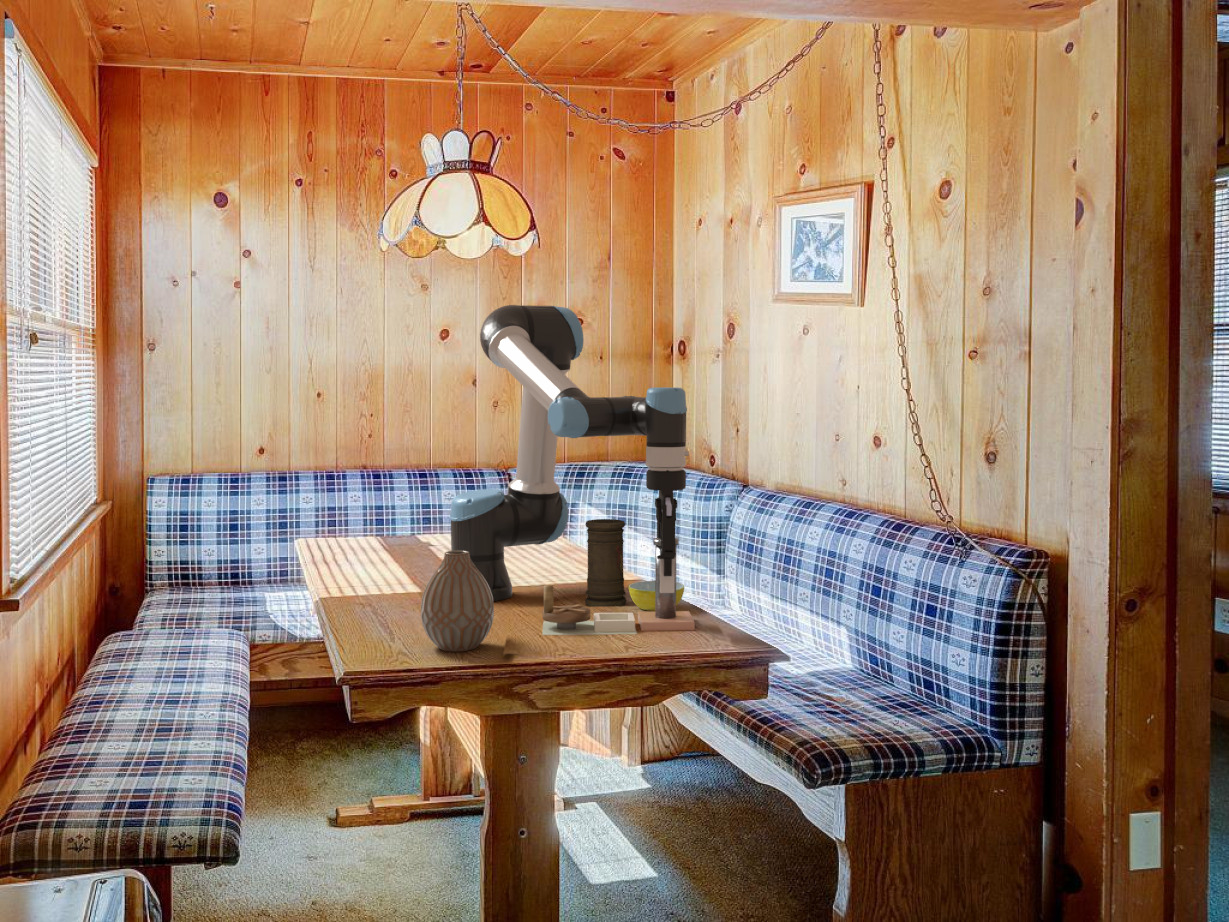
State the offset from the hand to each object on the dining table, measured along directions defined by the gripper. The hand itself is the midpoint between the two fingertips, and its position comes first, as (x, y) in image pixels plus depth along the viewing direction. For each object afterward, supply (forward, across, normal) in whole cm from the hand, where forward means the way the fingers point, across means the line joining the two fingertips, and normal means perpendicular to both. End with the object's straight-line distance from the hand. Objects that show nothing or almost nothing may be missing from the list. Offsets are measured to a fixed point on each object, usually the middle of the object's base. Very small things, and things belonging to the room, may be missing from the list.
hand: (665, 589), depth 228 cm
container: (+8, +28, +10) cm, 31 cm away
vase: (+8, -11, +39) cm, 41 cm away
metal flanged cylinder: (+5, 0, 0) cm, 5 cm away
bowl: (+8, +16, 0) cm, 18 cm away
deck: (+8, -2, +15) cm, 17 cm away
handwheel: (+5, -2, +19) cm, 20 cm away
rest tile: (+8, 0, 0) cm, 8 cm away
